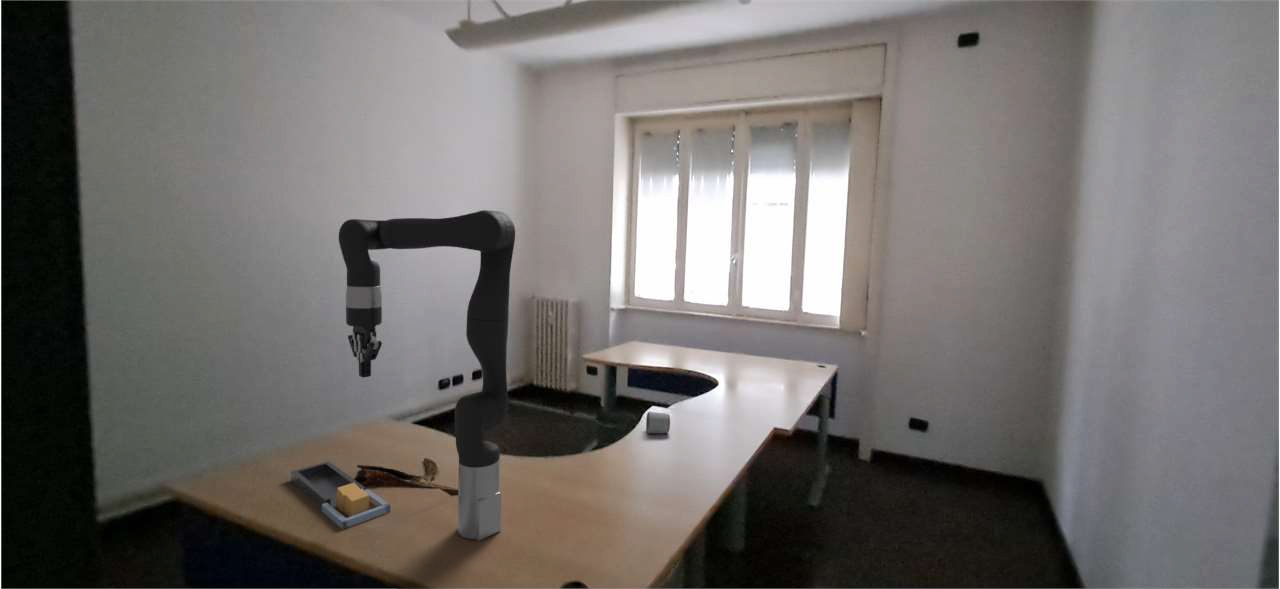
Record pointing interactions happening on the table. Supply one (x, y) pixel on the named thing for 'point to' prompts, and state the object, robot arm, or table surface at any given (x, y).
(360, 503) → the cardboard box
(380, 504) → the tray
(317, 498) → the rail
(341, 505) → the tan cardboard cube
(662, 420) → the grey cylinder
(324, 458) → the table surface
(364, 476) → the dark wooden branch
